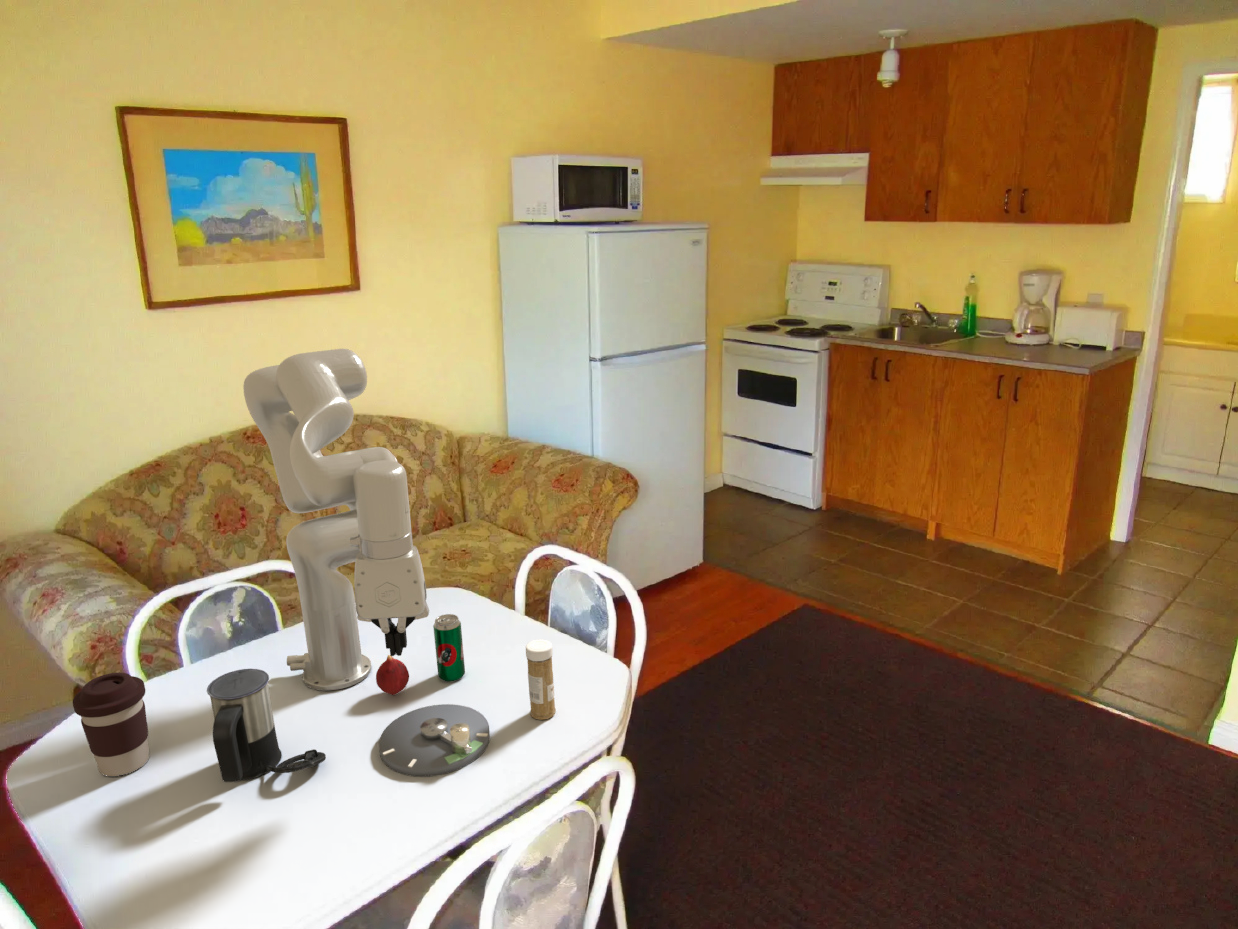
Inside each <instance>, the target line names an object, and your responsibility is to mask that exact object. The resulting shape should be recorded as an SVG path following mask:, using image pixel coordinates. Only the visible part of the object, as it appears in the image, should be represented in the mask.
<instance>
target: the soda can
mask: <svg viewBox="0 0 1238 929" xmlns="http://www.w3.org/2000/svg"><path fill="white" fill-rule="evenodd" d="M432 627H433V637H434V648H435V657H436V666H437V677H438V678H439V679H440V680H442V681H443V682H447V683H450V682H451V683H452V682H453V683H454V682H456V681H459V680H461V679H462V678H463V677H464V676H465V674H466V668H465V667H466V666H465V657H464V656H465V655H464V647H463V646H464V644H463V633H462V622H461V621H460V619H459V616H458V615H456V614H452V613H450V614H449V613H446V614H442V615H438V616H437V617H436V618H435V620H434V624H433V626H432Z"/></svg>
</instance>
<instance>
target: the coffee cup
mask: <svg viewBox="0 0 1238 929" xmlns="http://www.w3.org/2000/svg"><path fill="white" fill-rule="evenodd" d="M145 686H146V685H145V681H143V679H142V678H140V677H139V676H134V675H133V676H132V675H130V674H129V673H125V672H111V673H105V674H103V675H100V676H96V677H94V678H93V679H91V680H89V681H88V682H87V683H86V684H84V685H83V687H82V689H81V690H80V691H79V692H77V693H76V695H75V696H74V697H73V699H72V707H73V710H74V713H75V714H76V715H78V716H80V717H81V719H80V723H81V725H82V730H83V732H84V735H85V738H86V741H87V744H88V747H89V750H90V752H91V754H92V755H93V756H94V759H95V763H96V766H97V770H98V771H99V773H100V774H101V773H102V774H104V775H107V776H106V777H108V776H118V777H120V776H119V775H123V774H126V775H128V774H127V773H129V774H131V772H132V773H134V772H136V771H138V770H139V769H141V768H142V767H143V766H144V765H145V764H147V762H148V761H149V758H150V748H149V740H148V736H149V728H148V721H147V713H146V712H147V710H146V705H145V701H144V700H143V698H144V696H145V695H146V687H145ZM147 760H148V761H147ZM140 767H141V768H140ZM138 768H139V769H138ZM137 769H138V770H137ZM135 770H136V771H135ZM133 771H134V772H133ZM102 774H101V775H102ZM104 775H103V776H104ZM123 776H124V775H123Z"/></svg>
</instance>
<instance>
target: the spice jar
mask: <svg viewBox="0 0 1238 929" xmlns="http://www.w3.org/2000/svg"><path fill="white" fill-rule="evenodd" d="M553 654H554V652H553V643H551V642H550V641H549V640H546V639H534V640H531V641H530V642H528V643H527V644H526V646H525V657H526V660H527V679H528V694H529V703H530V704H529V705H530V711H529V713H530V716H531V717H532V718H534V719H535V720H539V721H541V720H542V721H543V720H544V721H545V720H548V719H551V718H552V717H553V716H555V714H556V712H557V711H556V710H557V709H556V704H555V683H554V670H553V658H552V657H553Z"/></svg>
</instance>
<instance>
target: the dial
mask: <svg viewBox="0 0 1238 929" xmlns="http://www.w3.org/2000/svg"><path fill="white" fill-rule="evenodd" d="M432 718H441V719H444V720H446V721H447V725H448V732H447V733H448V734H450V728H451V727H452V726H453V725H455V724H458V723H465V724H467V725H468V726H469V732H470V743H471V747H472V751H471V752H470V753H468V754H465V753H461V754H458V753H454V752H453V751H452V745H450V744H449V743H447V742H445V741H444V740H442V739H440V738H439V739H435V740H428V739H425V738H423V737H422V736H421V729H420V726H421V724H422V723H423V722H425V721H426V720H429V719H432ZM489 724H490V723H489V722H488V719H487V718H486V717H485V716H484V715H483V714H482V713H481V712H480V711H478V710H476V709H473V708H472V707H469V706H465V705H459V704H453V703H452V704H451V703H450V704H449V703H448V704H434V705H433V704H432V705H428V706H424V707H419V708H417V709H414V710H411V711H408V712H406V713H404V714H402V715H401V716H398V717H397V718H395V719H394V720H393V721H391V722H390V723H388V725H387V726H386V727H385V728H384V729H383V731H382V733H381V734H380V736H379V742H378V747H379V756H380V759H381V761H382V762H383V764H384V765H385V766H386V767H387V768H389V769H390V770H392V771H393V772H395V773H398V774H401V775H405V776H410V777H421V778H422V777H434V776H435V777H436V776H440V775H445V774H449V773H453V772H456V771H458V770H461V769H463V768H465V767H467V766H468V765H470V764H472V763H473V762H474V761H476V760H477V759H478V758H479V757H481V756H482V755H483V753H484V752H485V751H486V749H487V748H488V746H489V743H490V738H491V733H490V732H491V731H490V725H489ZM450 735H451V734H450Z"/></svg>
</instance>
